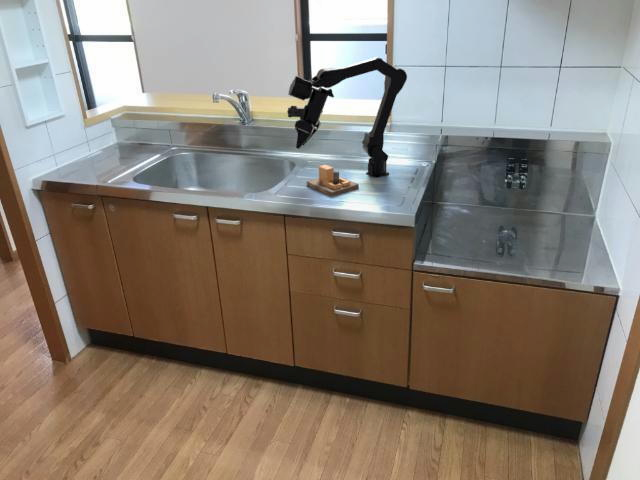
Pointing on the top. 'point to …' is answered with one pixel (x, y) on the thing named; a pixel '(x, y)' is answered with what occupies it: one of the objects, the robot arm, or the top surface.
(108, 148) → the top surface
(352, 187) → the post stand
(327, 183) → the ring link
